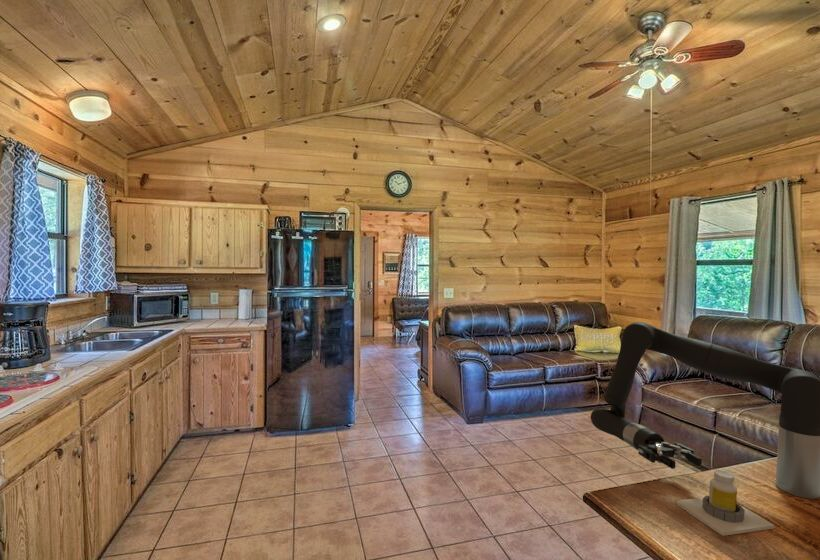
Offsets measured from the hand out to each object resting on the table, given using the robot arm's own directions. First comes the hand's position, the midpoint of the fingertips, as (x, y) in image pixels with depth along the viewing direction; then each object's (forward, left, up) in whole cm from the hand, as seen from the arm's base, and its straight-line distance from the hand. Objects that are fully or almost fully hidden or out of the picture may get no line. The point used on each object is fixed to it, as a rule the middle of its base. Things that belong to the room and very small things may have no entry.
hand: (687, 464), depth 114 cm
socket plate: (0, +10, -8) cm, 13 cm away
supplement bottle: (0, +10, -7) cm, 13 cm away
